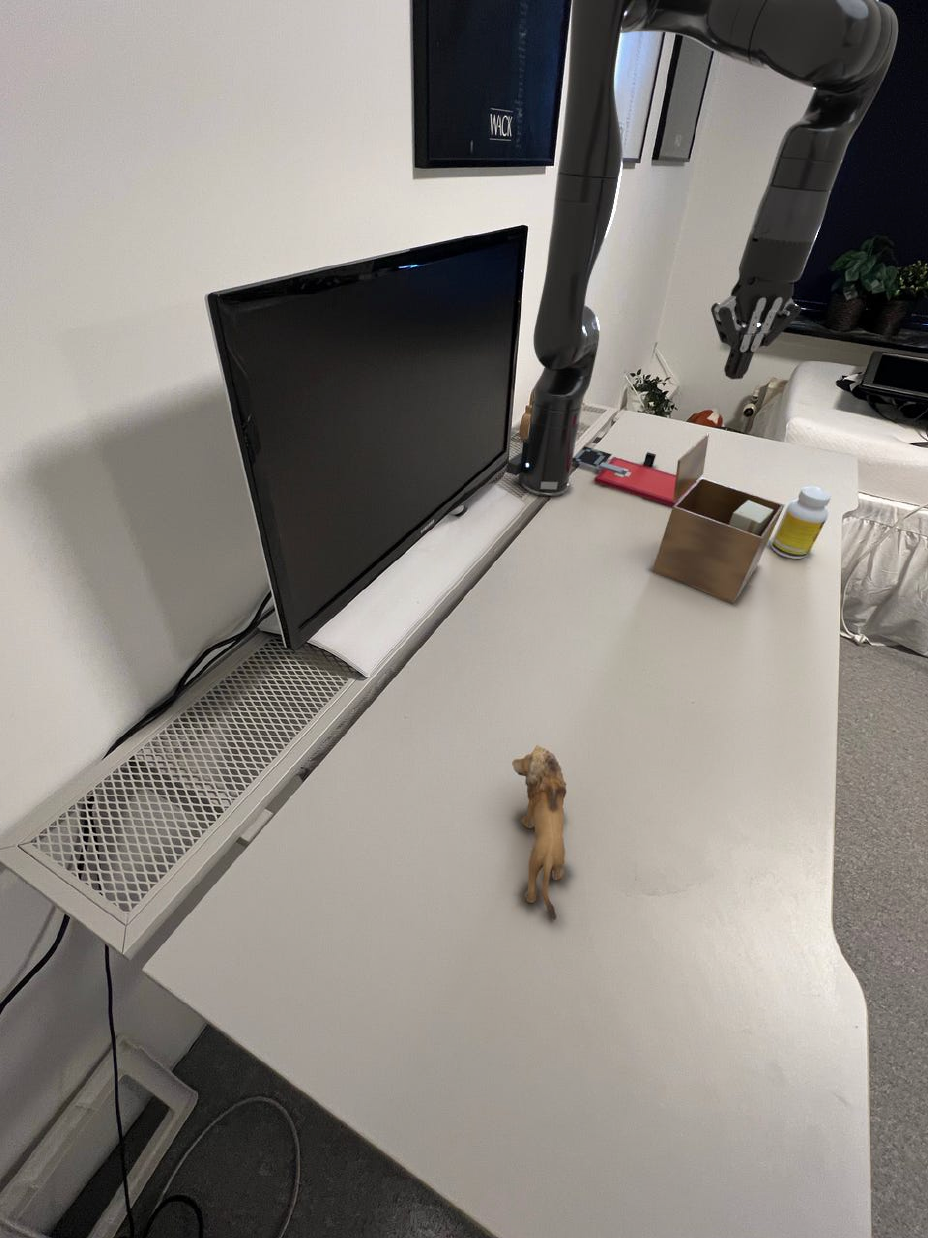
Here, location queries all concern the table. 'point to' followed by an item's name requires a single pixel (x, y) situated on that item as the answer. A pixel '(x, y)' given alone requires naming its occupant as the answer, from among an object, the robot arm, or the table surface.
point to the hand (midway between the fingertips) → (733, 377)
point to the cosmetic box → (751, 518)
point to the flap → (690, 467)
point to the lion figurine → (544, 819)
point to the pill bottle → (801, 523)
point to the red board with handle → (630, 475)
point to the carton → (712, 540)
